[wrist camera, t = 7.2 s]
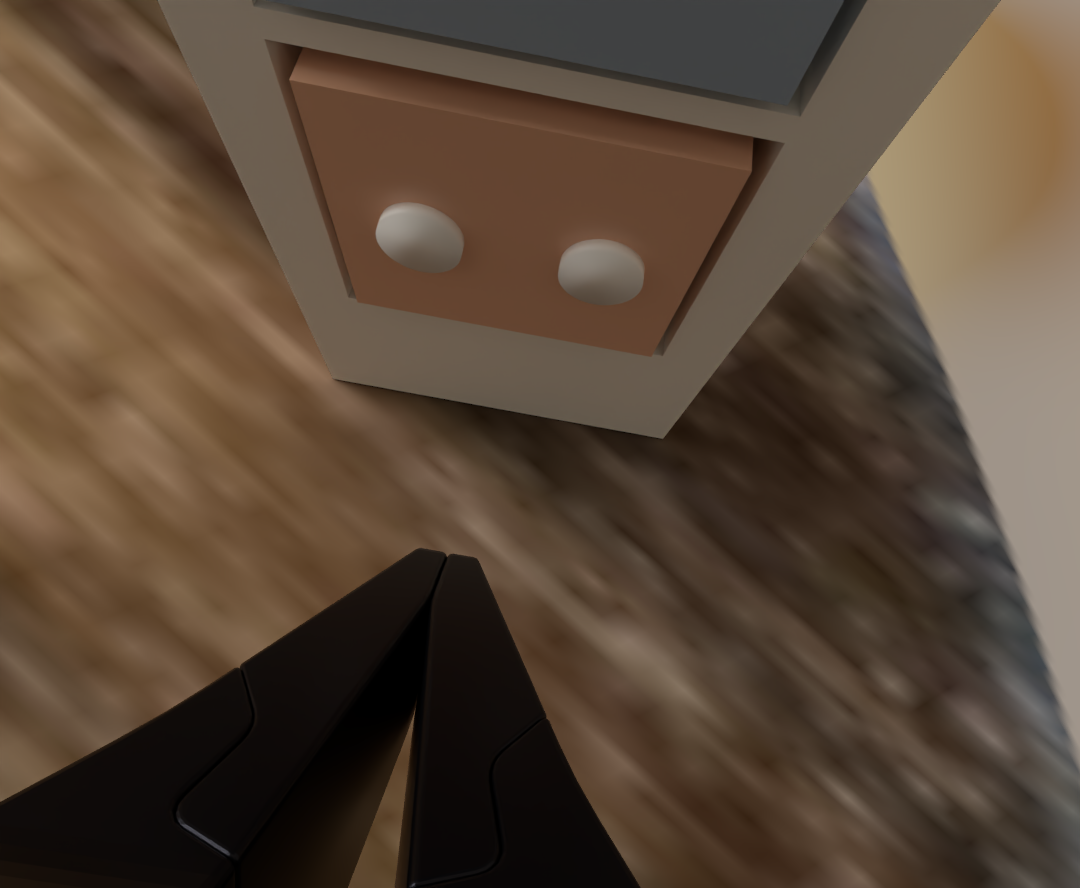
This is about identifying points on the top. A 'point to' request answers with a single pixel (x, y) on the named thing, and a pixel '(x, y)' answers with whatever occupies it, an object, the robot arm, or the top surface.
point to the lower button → (514, 200)
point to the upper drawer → (631, 35)
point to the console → (778, 130)
